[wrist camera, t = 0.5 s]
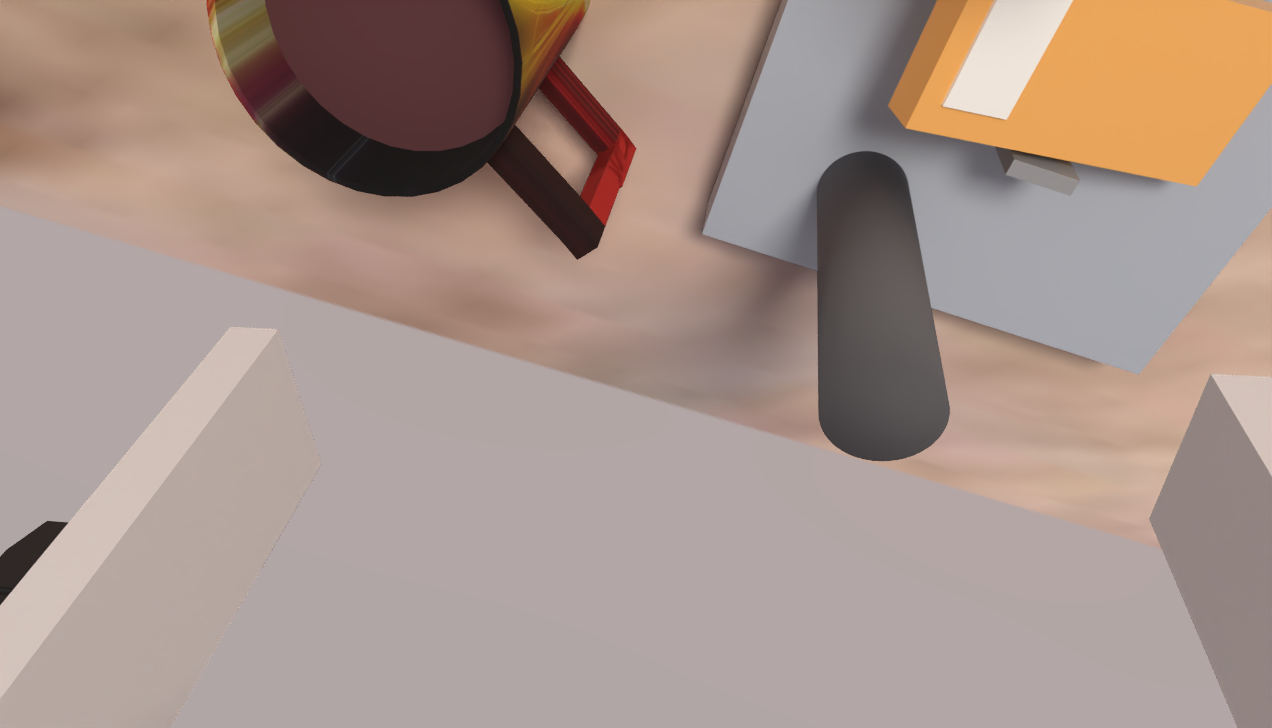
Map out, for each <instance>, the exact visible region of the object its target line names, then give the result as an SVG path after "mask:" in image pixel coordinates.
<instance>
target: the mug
mask: <svg viewBox="0 0 1272 728" xmlns="http://www.w3.org/2000/svg"><path fill="white" fill-rule="evenodd" d="M589 3H590V0H207V10H208V17H209V24H210V31H211V37H212V40H213V43H214V46H215V49H216V52H217V55H218V58H219V61H220V64H221V67H222V69H223V71H224V73H225V75H226V77H227V79H228V81H229V83H230V85H231V87H232V89H233V91H234V93H235V95H236V96H237V98H238V99H239V101H240V102H241V103H242V105H243V106H244V108H245V109H246V110H247V112H248V113H249V115H250V116H251V117H252V119H253V120H254V122H255V123H256V124H257V125H258V126H259V127H260V128H261V129H262V130H263V131H264V132H265V133H266V134H267V135H268V136H269V138H270V139H271V140H272V141H273V142H274V143H275V144H276V145H277V146H278V147H280V148H281V149H282V150H283V151H285V152H286V153H287V154H289V155H290V156H291V157H292V158H294V159H295V160H296V161H298V162H299V163H300V164H301V165H303V166H304V167H306V168H308V169H310V170H312V171H313V172H315V173H317V174H319V175H320V176H322V177H324V178H326V179H327V180H329V181H332V182H335V183H337V184H340V185H343V186H345V187H348V188H351V189H353V190H356V191H360V192H365V193H370V194H376V195H381V196H402V197H413V196H418V195H423V194H429V193H434V192H439V191H441V190H443V189H446V188H448V187H451V186H453V185H455V184H458V183H460V182H462V181H464V180H465V179H466V178H468V177H469V176H471V175H472V174H473V173H475V172H476V171H478V170H479V169H480V168H482V167H483V166H484V165H485V164H486V163H487V162H488V164H489V165H490V166H491V167H492V168H493V169H494V170H495V171H496V172H497V173H498V174H499V175H500V176H501V177H502V178H503V179H504V181H505V182H506V183H507V184H508V185H509V186H510V187H511V188H512V189H513V190H514V191H515V192H516V193H517V194H518V195H519V196H520V198H521V199H522V200H523V201H524V202H525V203H526V204H527V205H528V206H529V207H530V208H531V209H532V210H533V211H534V212H535V213H536V215H537V216H538V217H539V218H540V219H541V220H542V221H543V222H544V223H545V224H546V225H547V226H548V227H549V228H550V229H551V230H552V232H553V233H554V234H555V235H556V236H557V237H558V238H559V239H560V240H561V241H562V242H563V244H564V245H565V246H566V247H567V248H568V249H569V251H570V252H571V253H572V254H573V255H574V256H575V258H576V259H577V260H578V259H579V258H581V257H583V256H584V255H586V254H587V253H589V252H591V251H592V250H594V249H596V248H597V247H598V245H599V242H600V239H601V237H602V234H603V231H604V228H605V226H606V223H607V220H608V218H609V215H610V212H611V209H612V207H613V204H614V201H615V199H616V196H617V193H618V191H619V188H621V187H622V186H623V183H624V180H625V178H626V175H627V172H628V169H629V167H630V164H631V161H632V159H633V156H634V153H635V150H636V148H635V146H634V145H633V143H632V142H631V141H630V139H629V138H628V137H627V135H626V134H625V133H624V131H623V130H622V129H621V128H620V127H619V126H618V125H617V123H616V122H615V121H614V120H613V119H612V118H611V116H610V115H609V114H608V113H607V112H606V111H605V109H604V108H603V107H602V106H601V105H600V103H599V102H598V101H597V100H596V99H595V98H594V96H593V95H592V94H591V93H590V92H589V91H588V89H587V88H586V87H585V86H584V85H583V84H582V82H581V81H580V80H579V79H578V78H577V77H576V75H575V74H574V73H573V72H572V71H571V70H570V68H569V67H568V66H567V65H566V64H565V62H564V61H563V60H562V59H561V58H560V57H559V55H560V54H561V52H562V51H563V49H564V48H565V46H566V45H567V43H568V42H569V40H570V39H571V37H572V35H573V34H574V32H575V31H576V29H577V28H578V26H579V24H580V22H581V20H582V18H583V17H584V15H585V13H586V11H587V9H588V7H589ZM538 88H539V89H540V90H541V91H542V92H543V93H544V94H545V95H546V97H547V98H548V99H549V100H550V101H551V102H552V103H553V105H554V106H555V107H556V108H557V109H558V110H559V111H560V113H561V114H562V115H563V116H564V117H565V118H566V119H567V121H568V122H569V123H570V124H571V125H572V126H573V127H574V128H575V130H576V131H577V132H578V133H579V134H580V135H581V136H582V138H583V139H584V140H585V141H586V142H587V143H588V144H589V146H590V147H591V148H592V149H593V150H594V151H595V152H596V154H597V155H598V157H597V159H596V161H595V163H594V166H593V168H592V170H591V173H590V175H589V177H588V179H587V182H586V184H585V186H584V188H583V191H582V193H581V195H580V196H579V195H578V194H577V192H576V191H575V190H574V189H573V188H572V187H571V186H570V185H569V184H568V183H567V181H566V180H565V179H564V178H563V177H562V176H561V175H560V174H559V173H558V172H557V170H556V169H555V168H554V167H553V166H552V165H551V164H550V163H549V162H548V161H547V159H546V158H545V157H544V156H543V155H542V154H541V153H540V152H539V151H538V150H537V148H536V147H535V146H534V145H533V144H532V143H531V142H530V141H529V140H528V139H527V137H526V136H525V135H524V134H523V133H522V132H521V131H520V130H519V129H518V128H517V126H516V125H515V123H516V122H517V120H518V119H519V117H520V116H521V114H522V112H523V111H524V109H525V108H526V106H527V105H528V103H529V102H530V100H531V99H532V97H533V96H534V94H535V92H536V91H537V89H538Z"/></svg>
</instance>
